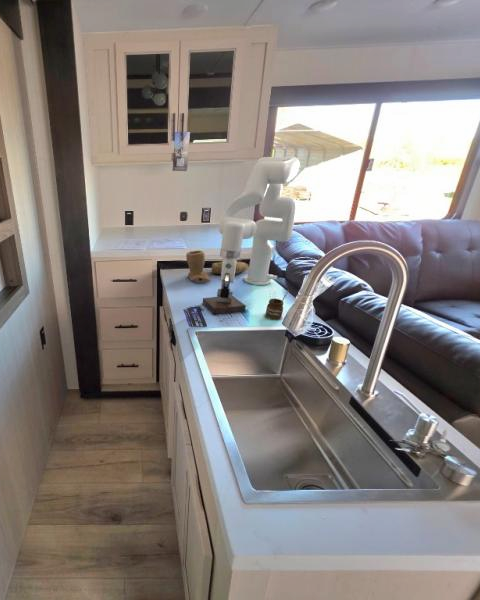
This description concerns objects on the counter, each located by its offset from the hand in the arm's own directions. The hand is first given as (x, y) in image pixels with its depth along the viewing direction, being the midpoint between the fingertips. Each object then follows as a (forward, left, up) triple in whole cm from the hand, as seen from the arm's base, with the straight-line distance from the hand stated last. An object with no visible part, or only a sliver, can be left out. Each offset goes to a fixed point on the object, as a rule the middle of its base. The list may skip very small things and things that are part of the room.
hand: (224, 293), depth 131 cm
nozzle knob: (0, 0, -4) cm, 4 cm away
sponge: (-10, -48, -7) cm, 50 cm away
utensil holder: (-19, +6, -7) cm, 21 cm away
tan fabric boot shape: (+9, -35, -7) cm, 37 cm away
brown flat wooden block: (0, 0, -7) cm, 7 cm away
